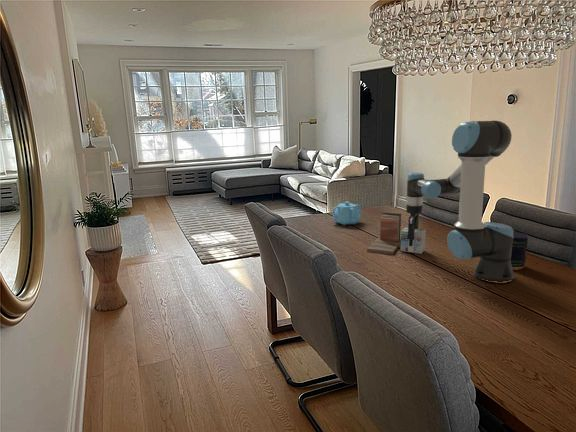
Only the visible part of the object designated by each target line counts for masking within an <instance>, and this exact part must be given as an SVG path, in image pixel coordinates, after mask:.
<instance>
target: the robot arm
mask: <svg viewBox="0 0 576 432" xmlns="http://www.w3.org/2000/svg"><path fill="white" fill-rule="evenodd" d="M511 141H512V131H511V129H510V127H509V126H508V125H507V124H506V123H505V122H504V121H500V120H477V121H476V120H472V121H464V122H461V123H460V124H459V125H457V127H456V128H455V130H454V131H453V134H452V137H451V146H452V147H453V151H455V152H456V153H457V157H458V159H459V160H460V161H461V164H460V165H459V166H458V167H457V168H455V170H454V171H453V172H452V173H451V174H450V175H449V176H448V177H447V178H439V179H425V174H424V173H423V172H409V173H408V175H407V181H406V182H407V183H406V197H405V200H406V213H407V214H410V215H409V216H408V222H407V223H408V226H407V228H408V237H407V239H408V252H407V253H412V252H414V232H415V229H419V223H420V222H419V218H420V214H422V213H423V203H424V197H426V198H429V199H430V198H431V199H434V198H437V197H439V196H449V195H458V194H459V203H458V204H459V205H458V206H459V207H458V219H457V221H456V222H455V223H454V224H453V225H454V226H453V230H451V231H449V233H448V234H447V238H446V241H447V246H448V249H449V251H450V252H451V253H450V254H452V255H453V256H454V257H455V258H457V259H460V260H461V259H466V260H468V259H469V260H470V259H473V258H479V259H478V261H477V263H476V266H475V267H474V271H473V275H475V276H476V277H478V278H480V279H484V280H488V281H497V282H503V281H509V280H512V279H513V280H514V278H515V275H514V270H513V269H512V265H511V253H512V245H513V238H514V237H513V232H514V229H513V227H512V226H510V225H507V224H504V223H501V222H500V223H499V222H493V221H482V220H483V208H484V207H483V206H484V191H485V189H484V188H485V178H486V177H485V176H486V175H485V173H486V165H488V164H489V163H490V162H492V161H493V160H494V158H498V157H499V156H501V155H502V154H503V153H504V152H505V151H506V150H507V149H508V148H509V146H510V144H511ZM475 276H474V277H475ZM476 277H475V278H476Z"/></svg>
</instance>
